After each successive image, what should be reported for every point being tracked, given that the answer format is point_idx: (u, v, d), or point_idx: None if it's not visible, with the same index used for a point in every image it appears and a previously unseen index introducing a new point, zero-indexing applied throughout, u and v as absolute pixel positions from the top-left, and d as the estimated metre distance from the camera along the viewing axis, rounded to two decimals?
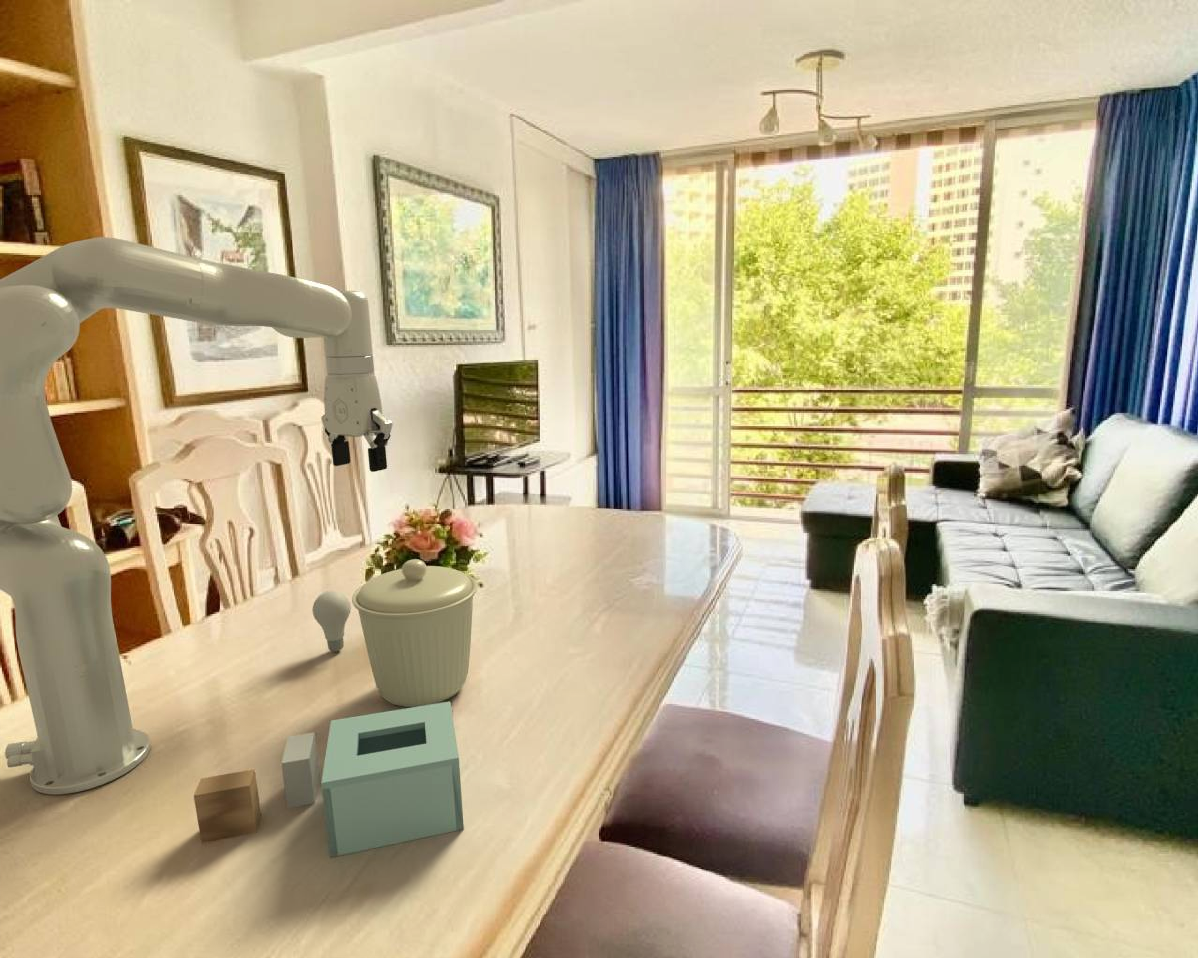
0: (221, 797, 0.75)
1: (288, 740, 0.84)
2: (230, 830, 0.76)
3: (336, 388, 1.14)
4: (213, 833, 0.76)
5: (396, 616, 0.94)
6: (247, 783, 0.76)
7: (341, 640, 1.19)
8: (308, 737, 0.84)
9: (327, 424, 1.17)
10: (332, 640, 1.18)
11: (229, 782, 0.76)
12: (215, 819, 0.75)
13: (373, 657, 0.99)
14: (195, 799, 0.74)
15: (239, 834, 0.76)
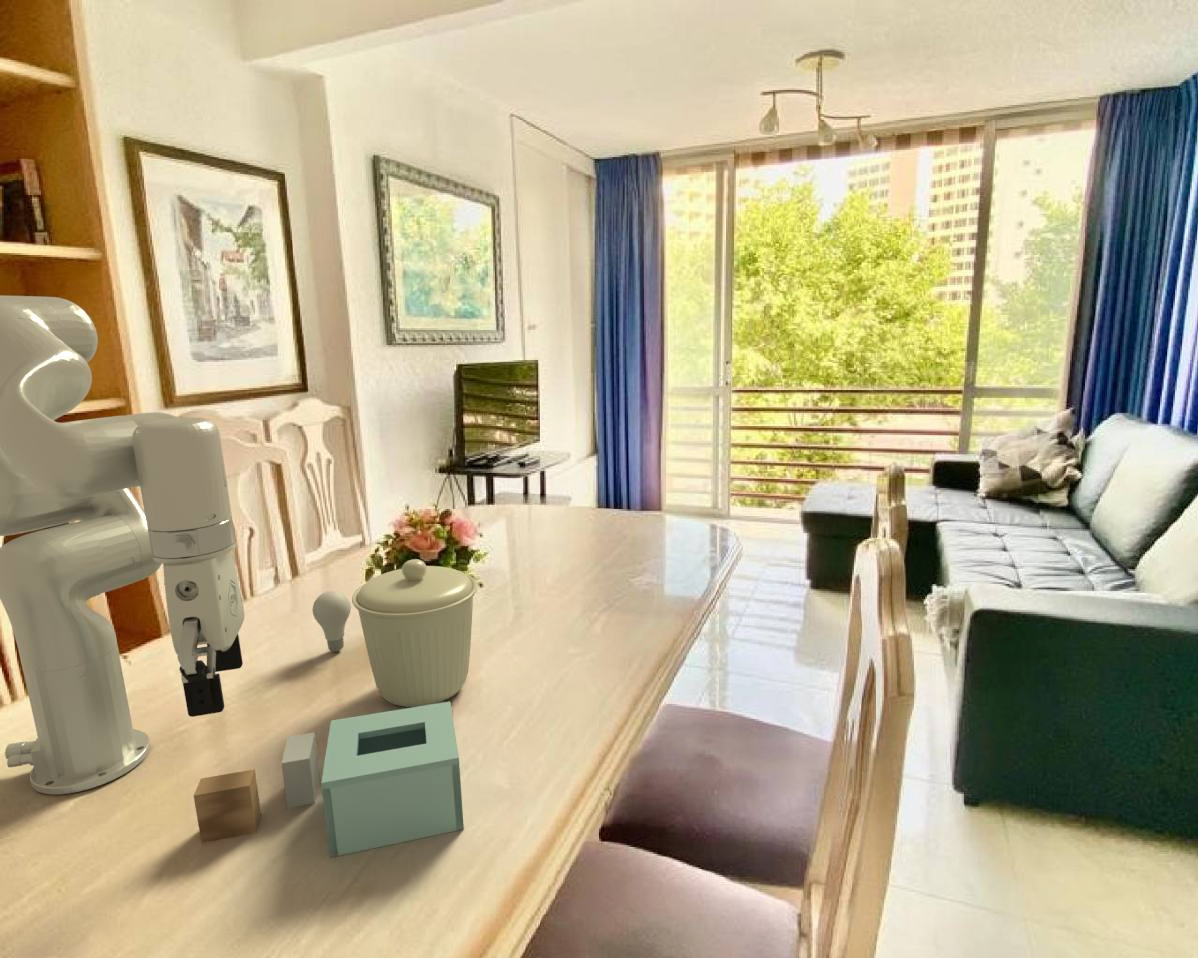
0: (221, 797, 0.75)
1: (288, 740, 0.84)
2: (230, 830, 0.76)
3: (227, 566, 0.72)
4: (213, 833, 0.76)
5: (396, 616, 0.94)
6: (247, 783, 0.76)
7: (341, 640, 1.19)
8: (308, 737, 0.84)
9: (227, 636, 0.70)
10: (332, 640, 1.18)
11: (229, 782, 0.76)
12: (215, 819, 0.75)
13: (373, 657, 0.99)
14: (195, 799, 0.74)
15: (239, 834, 0.76)
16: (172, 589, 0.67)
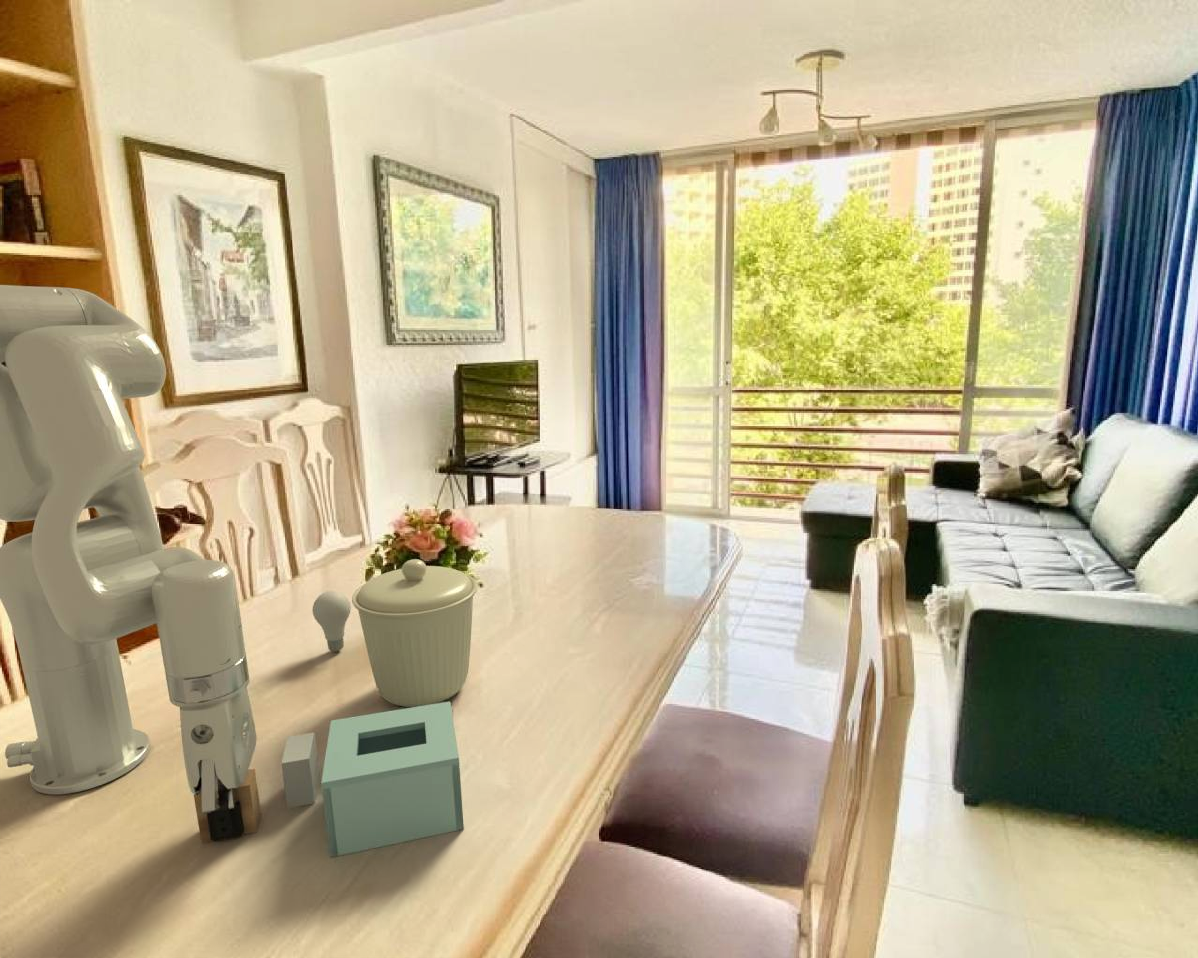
0: None
1: (288, 740, 0.84)
2: None
3: (240, 702, 0.74)
4: None
5: (396, 616, 0.94)
6: (247, 782, 0.76)
7: (341, 640, 1.19)
8: (308, 737, 0.84)
9: (240, 773, 0.73)
10: (332, 640, 1.18)
11: None
12: None
13: (373, 657, 0.99)
14: (195, 798, 0.74)
15: None
16: (188, 733, 0.70)
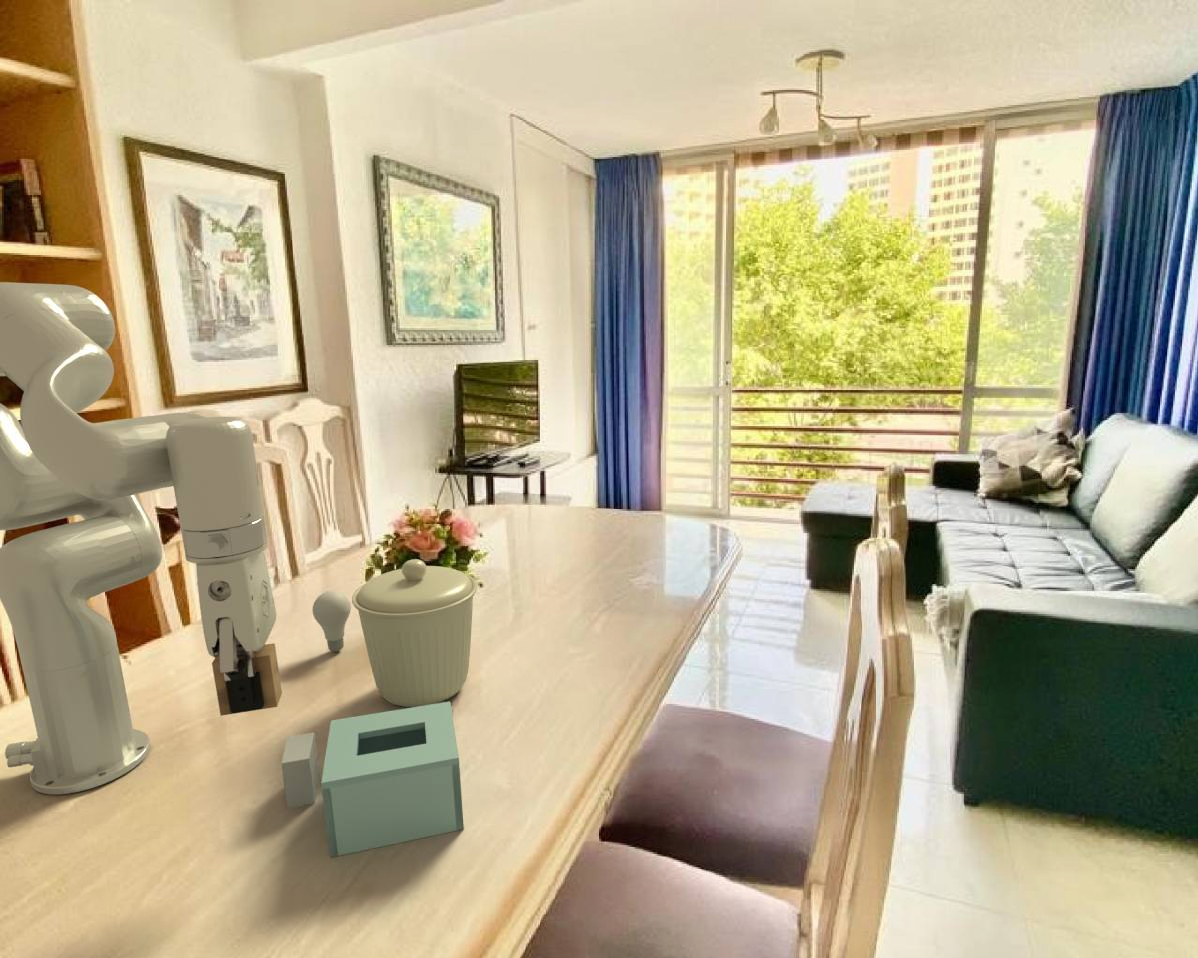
0: None
1: (288, 740, 0.84)
2: None
3: (259, 567, 0.72)
4: None
5: (396, 616, 0.94)
6: (266, 653, 0.73)
7: (341, 640, 1.19)
8: (308, 737, 0.84)
9: (260, 636, 0.69)
10: (332, 640, 1.18)
11: None
12: None
13: (373, 657, 0.99)
14: (213, 667, 0.71)
15: None
16: (205, 589, 0.67)
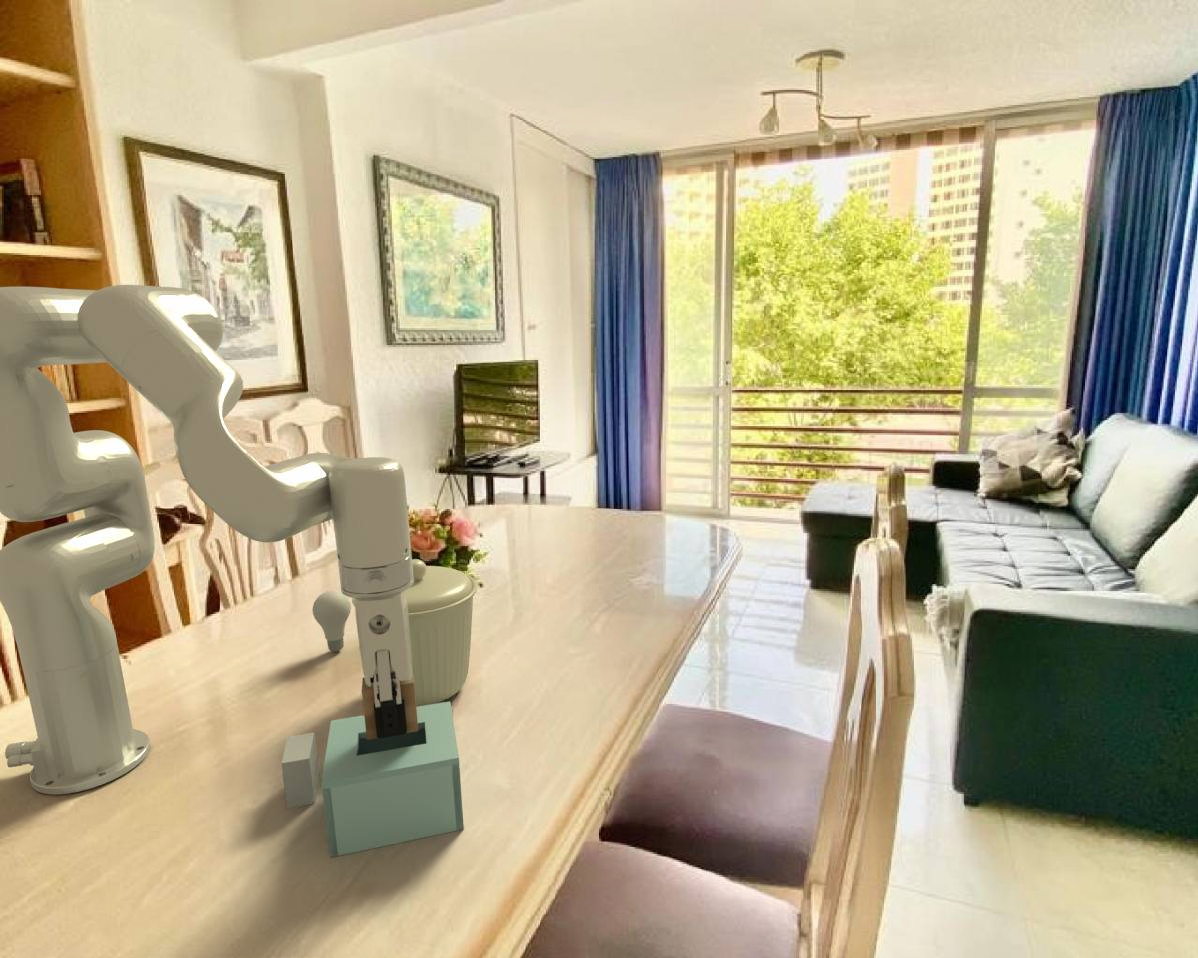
0: None
1: (288, 740, 0.84)
2: None
3: (406, 599, 0.75)
4: None
5: None
6: (410, 681, 0.77)
7: (341, 640, 1.19)
8: (308, 737, 0.84)
9: (411, 666, 0.73)
10: (332, 640, 1.18)
11: None
12: None
13: None
14: (363, 694, 0.75)
15: None
16: (366, 623, 0.70)
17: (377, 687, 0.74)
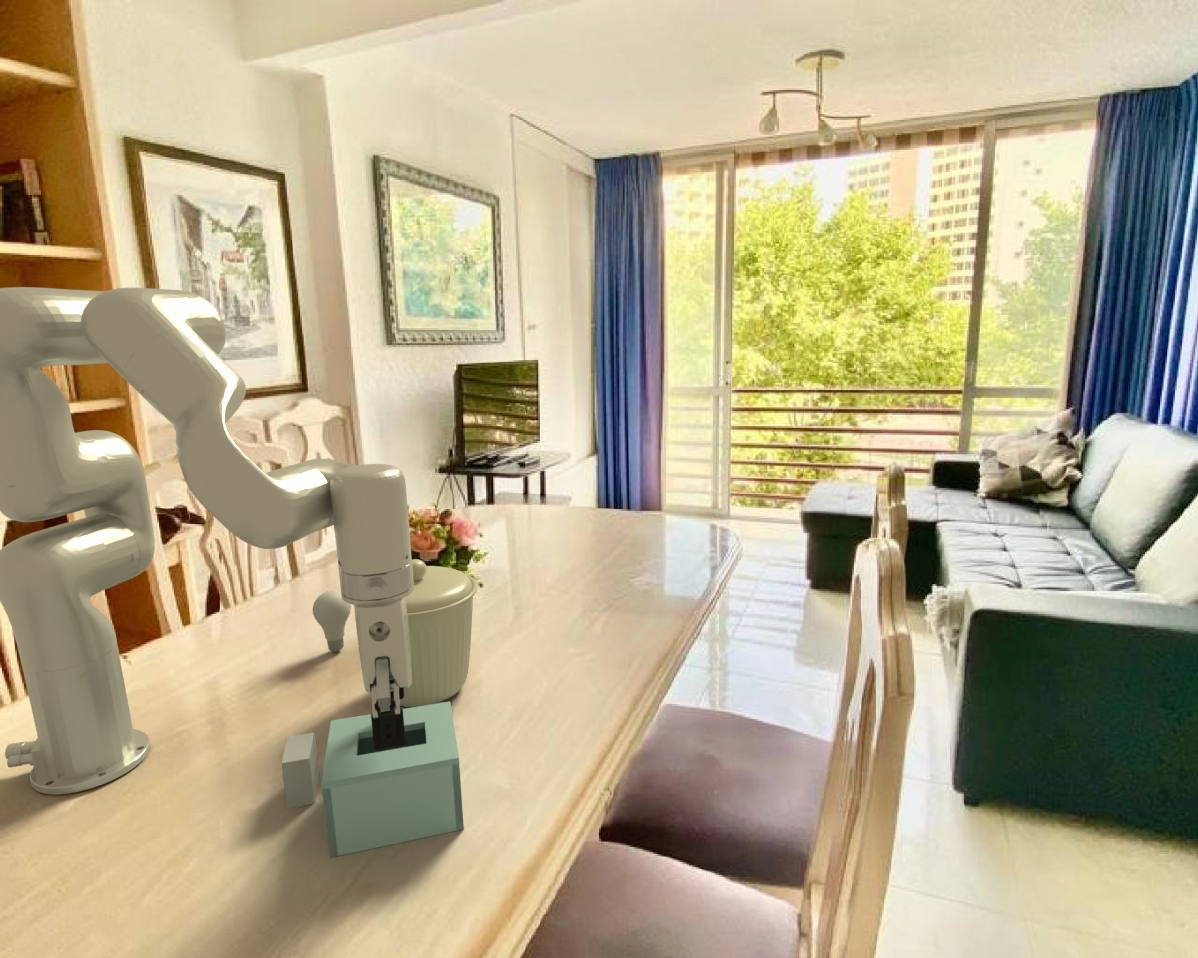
0: None
1: (288, 740, 0.84)
2: None
3: (406, 606, 0.75)
4: None
5: None
6: None
7: (341, 640, 1.19)
8: (308, 737, 0.84)
9: (410, 673, 0.73)
10: (332, 640, 1.18)
11: None
12: None
13: None
14: None
15: None
16: (366, 630, 0.70)
17: (375, 692, 0.72)
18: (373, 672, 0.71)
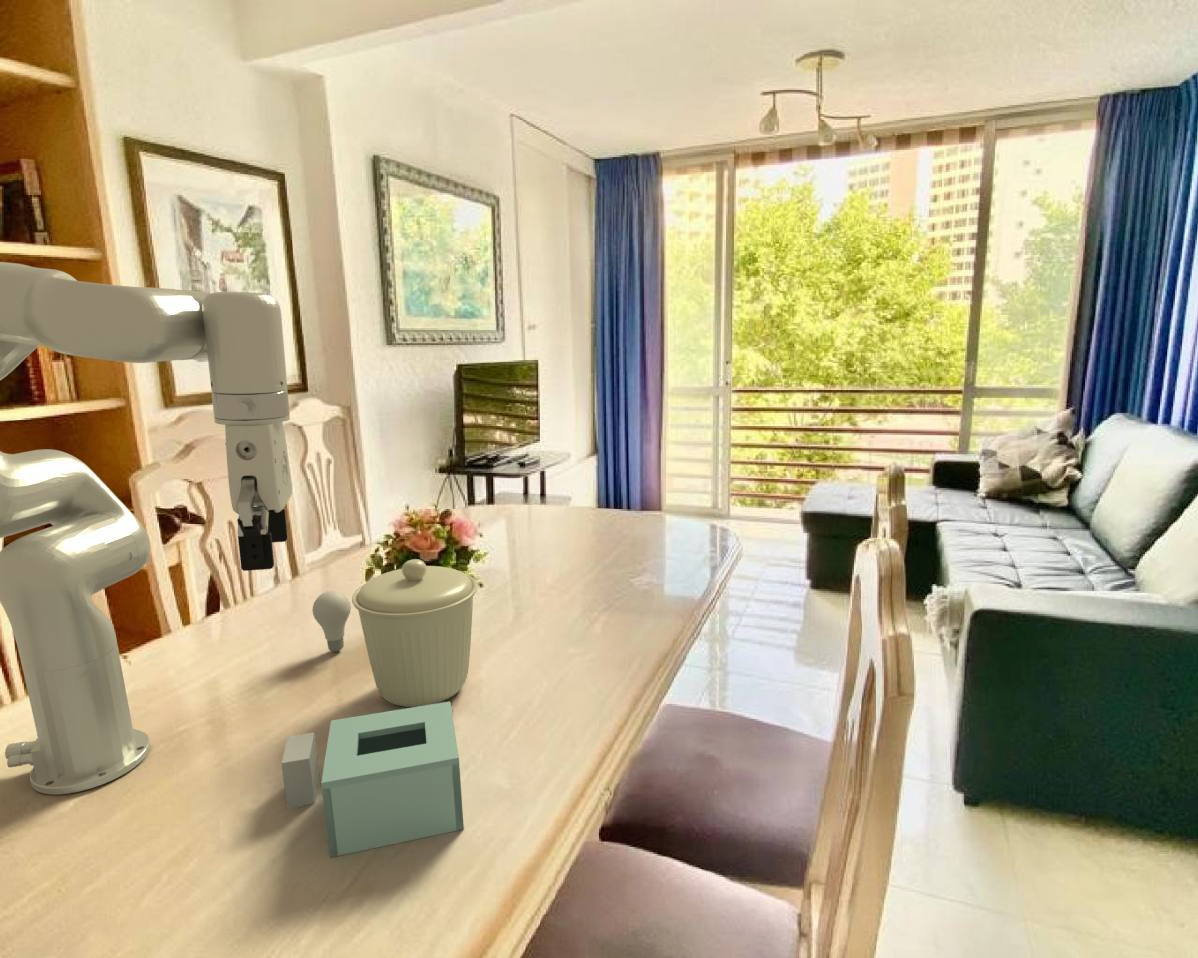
0: None
1: (288, 740, 0.84)
2: None
3: (281, 437, 0.77)
4: None
5: (396, 616, 0.94)
6: None
7: (341, 640, 1.19)
8: (308, 737, 0.84)
9: (280, 498, 0.75)
10: (332, 640, 1.18)
11: None
12: None
13: (373, 657, 0.99)
14: None
15: None
16: (233, 448, 0.72)
17: None
18: (240, 491, 0.73)
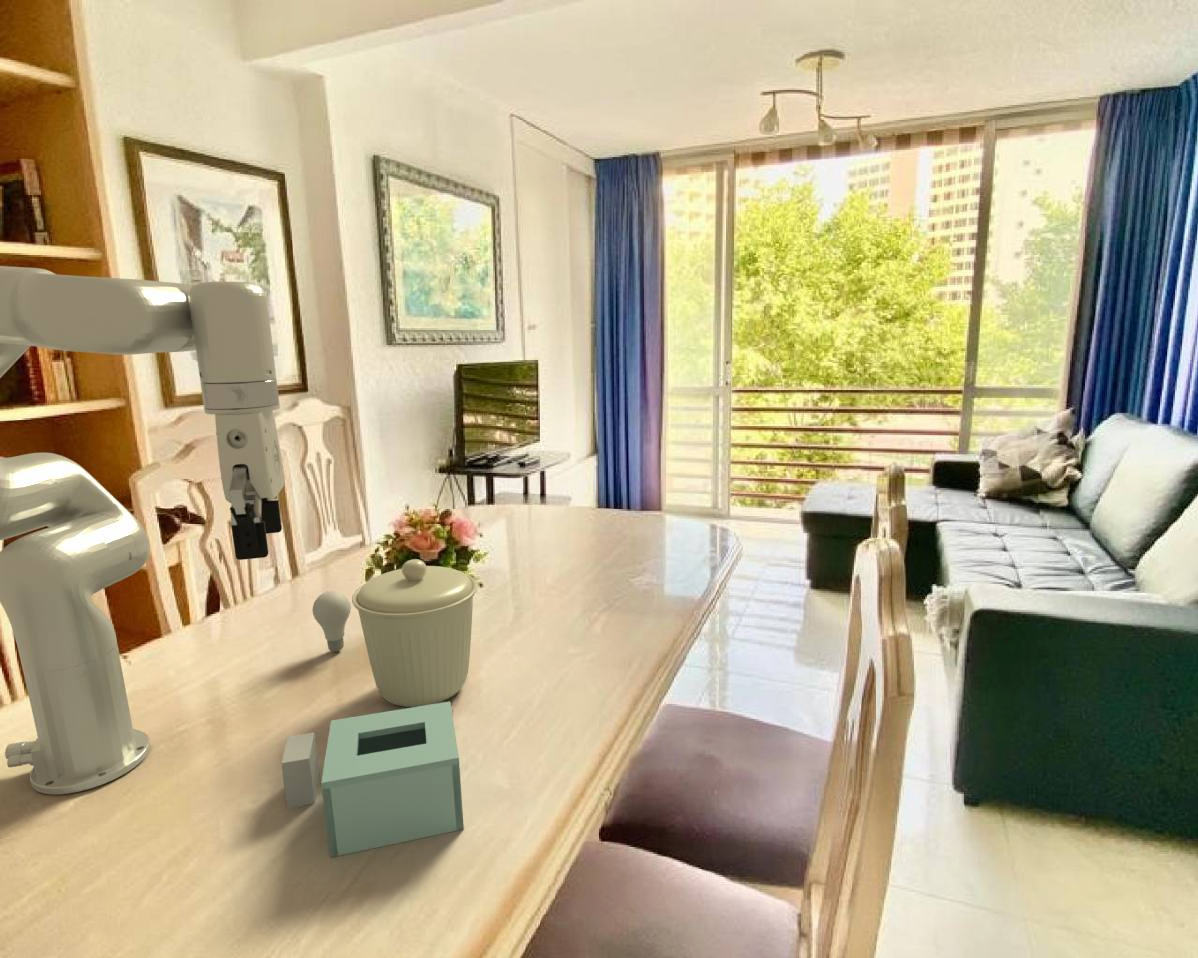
0: None
1: (288, 740, 0.84)
2: None
3: (271, 426, 0.77)
4: None
5: (396, 616, 0.94)
6: None
7: (341, 640, 1.19)
8: (308, 737, 0.84)
9: (272, 486, 0.76)
10: (332, 640, 1.18)
11: None
12: None
13: (373, 657, 0.99)
14: None
15: None
16: (223, 437, 0.73)
17: None
18: (232, 480, 0.73)
